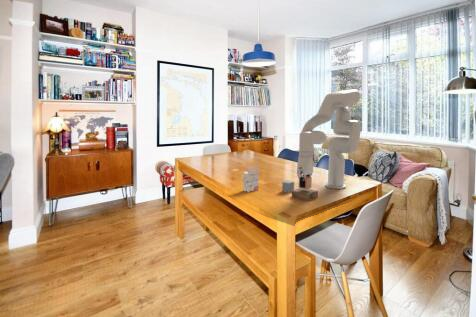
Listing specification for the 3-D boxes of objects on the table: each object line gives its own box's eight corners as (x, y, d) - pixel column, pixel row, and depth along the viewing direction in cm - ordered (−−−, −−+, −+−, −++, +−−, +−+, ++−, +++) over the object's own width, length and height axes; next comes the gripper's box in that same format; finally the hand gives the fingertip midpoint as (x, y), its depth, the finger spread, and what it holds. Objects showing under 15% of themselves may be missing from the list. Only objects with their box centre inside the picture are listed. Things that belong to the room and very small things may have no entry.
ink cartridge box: (253, 188, 161) (253, 165, 159) (258, 190, 157) (258, 166, 155) (242, 190, 156) (242, 167, 154) (247, 192, 152) (247, 168, 150)
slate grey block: (287, 189, 157) (287, 180, 156) (293, 191, 154) (294, 181, 153) (282, 191, 154) (282, 181, 153) (289, 193, 150) (289, 183, 149)
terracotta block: (303, 186, 145) (303, 175, 144) (311, 187, 142) (311, 177, 141) (298, 187, 142) (299, 177, 141) (306, 189, 138) (307, 178, 137)
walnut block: (302, 193, 149) (303, 187, 149) (317, 197, 142) (317, 191, 141) (291, 197, 143) (291, 190, 143) (306, 201, 135) (306, 194, 135)
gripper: (307, 152, 147) (306, 182, 150) (291, 155, 135) (290, 188, 138) (319, 153, 142) (318, 184, 145) (303, 156, 130) (302, 190, 133)
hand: (305, 186), depth 141 cm, fingers closed on terracotta block, 5 cm apart
